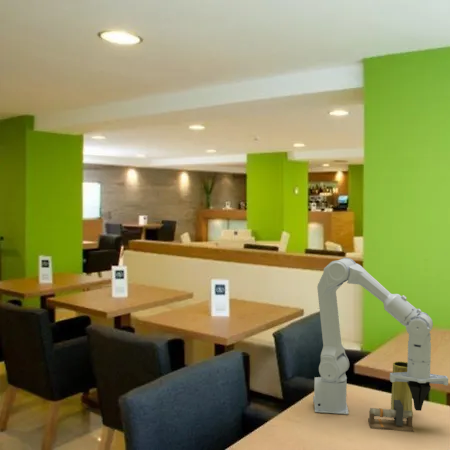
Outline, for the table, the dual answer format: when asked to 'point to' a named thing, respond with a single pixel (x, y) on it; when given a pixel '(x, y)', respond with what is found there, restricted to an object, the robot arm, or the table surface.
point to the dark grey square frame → (398, 412)
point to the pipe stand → (389, 423)
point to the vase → (401, 388)
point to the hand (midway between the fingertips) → (417, 409)
